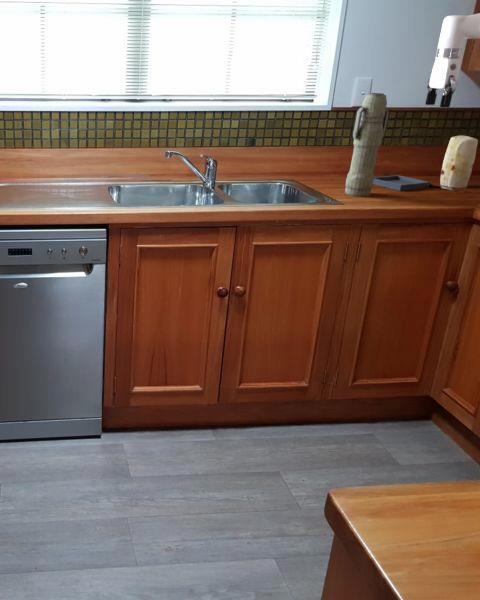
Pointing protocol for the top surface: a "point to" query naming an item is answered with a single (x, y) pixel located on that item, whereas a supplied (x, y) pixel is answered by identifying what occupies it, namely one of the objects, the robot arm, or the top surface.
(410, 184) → the tray
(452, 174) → the food model
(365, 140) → the thermos
